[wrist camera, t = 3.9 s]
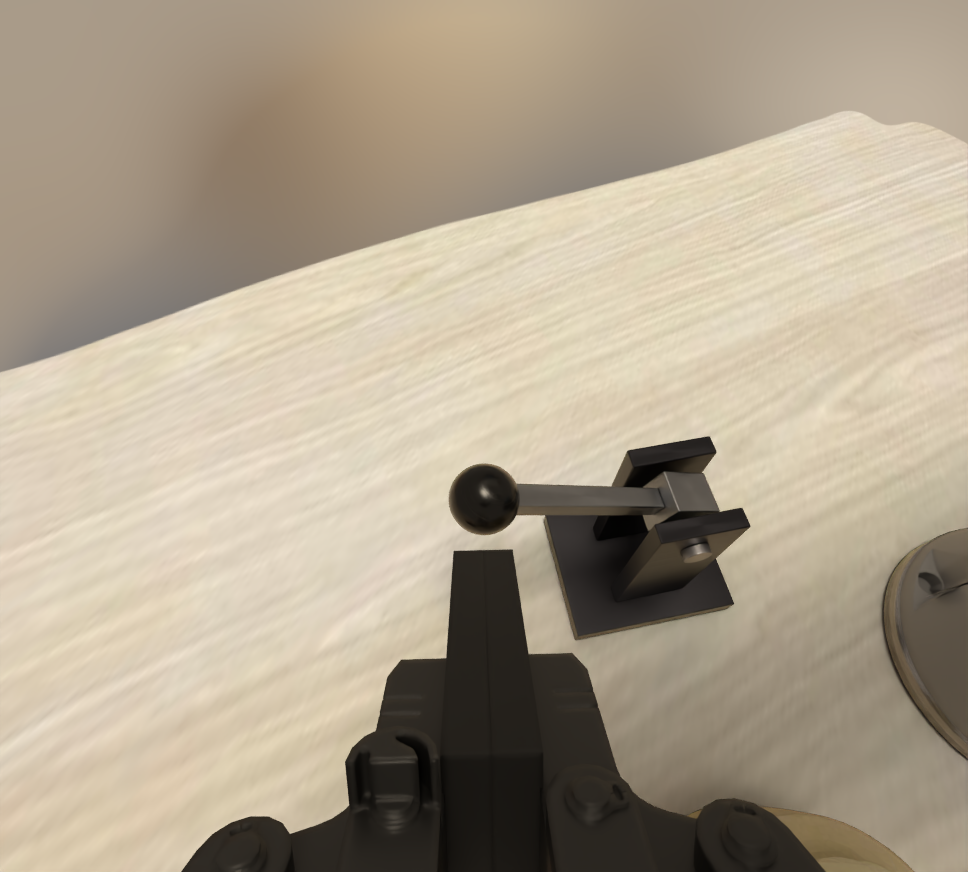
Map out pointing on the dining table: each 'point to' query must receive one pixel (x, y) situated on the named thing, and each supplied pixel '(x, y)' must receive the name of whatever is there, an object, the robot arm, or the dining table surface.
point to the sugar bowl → (837, 843)
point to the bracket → (643, 553)
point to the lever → (572, 499)
